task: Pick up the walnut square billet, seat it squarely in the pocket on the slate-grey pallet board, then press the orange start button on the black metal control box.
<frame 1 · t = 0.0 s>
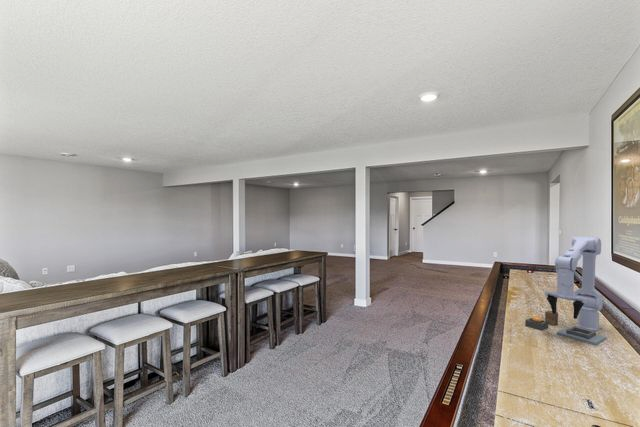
hand: (564, 315, 138), 10 cm above the table, fingers open, 7 cm apart
pallet board: (580, 336, 140), on the table
control box: (536, 326, 152), on the table
start button: (536, 319, 152), point 3 cm above the table, slide at 0.0 cm
billet: (551, 324, 156), on the table
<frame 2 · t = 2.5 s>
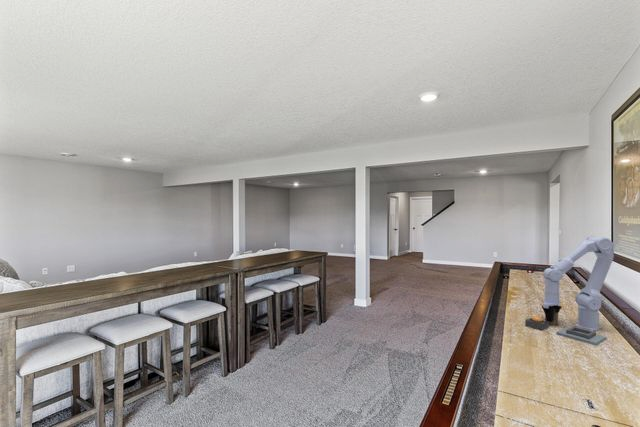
hand: (551, 320, 156), 2 cm above the table, fingers closed on billet, 4 cm apart
billet: (551, 324, 156), on the table, touching gripper
everything else where it was.
when the fingers open (4 cm above the table, at t = 6.0 s): billet drops 1 cm, resting on pallet board.
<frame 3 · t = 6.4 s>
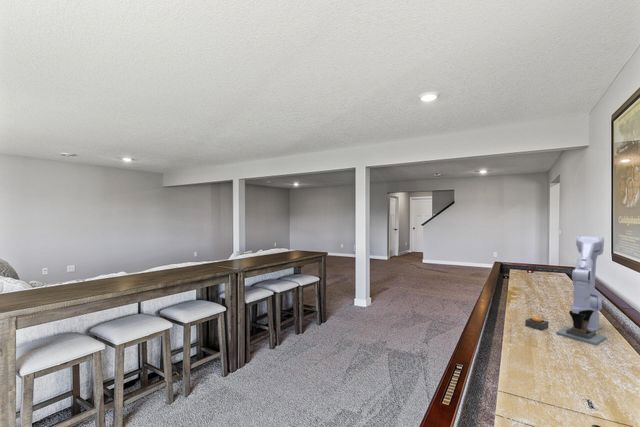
hand: (581, 327, 140), 4 cm above the table, fingers open, 7 cm apart
billet: (580, 334, 141), point 1 cm above the table, touching pallet board
everything else where it was.
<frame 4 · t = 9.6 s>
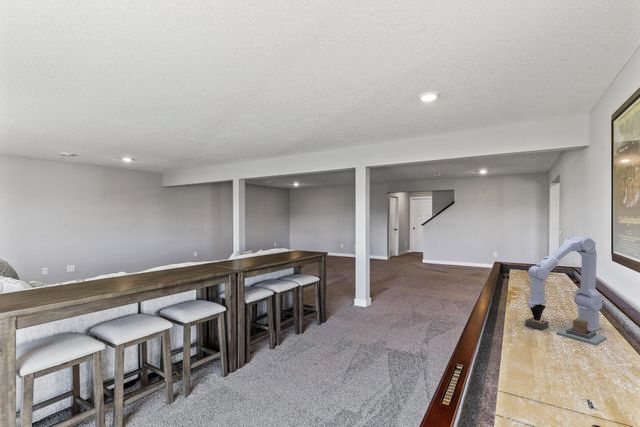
hand: (536, 320, 152), 3 cm above the table, fingers closed, pressing on start button
start button: (536, 322, 152), point 2 cm above the table, slide at 1.2 cm, touching gripper
everything else where it was.
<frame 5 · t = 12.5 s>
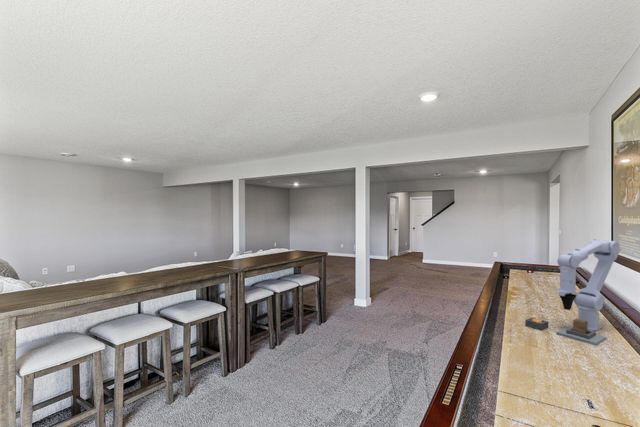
hand: (567, 309, 149), 9 cm above the table, fingers closed
start button: (536, 322, 152), point 2 cm above the table, slide at 1.2 cm
everything else where it was.
at the end: billet 0.3 cm off-centre on the pallet board, point 1.0 cm above the pallet board's base; billet tilted 0°; start button slide at 1.2 cm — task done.
